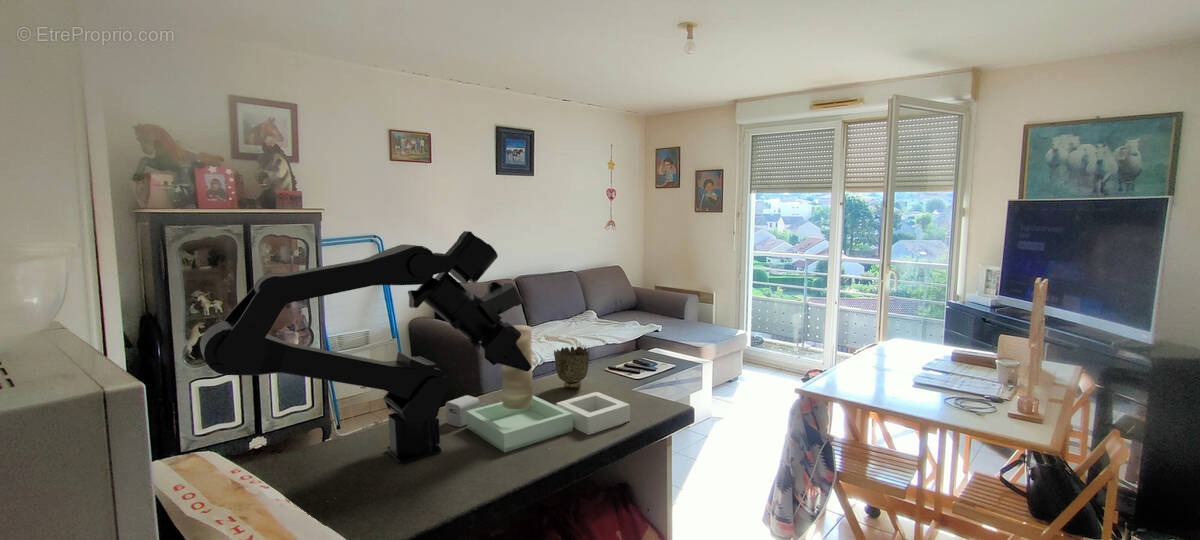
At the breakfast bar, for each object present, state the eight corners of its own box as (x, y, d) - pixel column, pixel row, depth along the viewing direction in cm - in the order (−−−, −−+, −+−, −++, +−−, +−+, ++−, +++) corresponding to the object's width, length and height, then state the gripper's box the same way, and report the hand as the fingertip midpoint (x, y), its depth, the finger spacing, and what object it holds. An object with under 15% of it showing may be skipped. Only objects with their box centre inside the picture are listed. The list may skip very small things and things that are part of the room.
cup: (549, 385, 118) (548, 348, 117) (581, 380, 121) (581, 344, 120) (562, 395, 111) (561, 356, 111) (595, 390, 114) (595, 352, 114)
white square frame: (588, 434, 92) (588, 417, 91) (556, 419, 99) (556, 402, 98) (629, 421, 97) (629, 404, 97) (597, 407, 105) (596, 391, 104)
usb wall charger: (446, 423, 98) (445, 401, 97) (476, 411, 103) (475, 390, 103) (461, 428, 96) (460, 405, 95) (491, 416, 101) (490, 394, 101)
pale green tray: (504, 452, 85) (504, 433, 85) (466, 427, 95) (466, 410, 95) (572, 430, 94) (572, 413, 93) (531, 410, 104) (531, 394, 103)
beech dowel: (512, 411, 90) (510, 332, 89) (497, 403, 94) (495, 327, 93) (538, 404, 94) (537, 328, 92) (522, 397, 97) (521, 324, 96)
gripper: (506, 273, 82) (576, 339, 87) (479, 263, 98) (539, 319, 104) (452, 331, 79) (529, 395, 85) (434, 310, 96) (499, 365, 102)
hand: (525, 365), depth 94 cm, fingers closed on beech dowel, 5 cm apart
